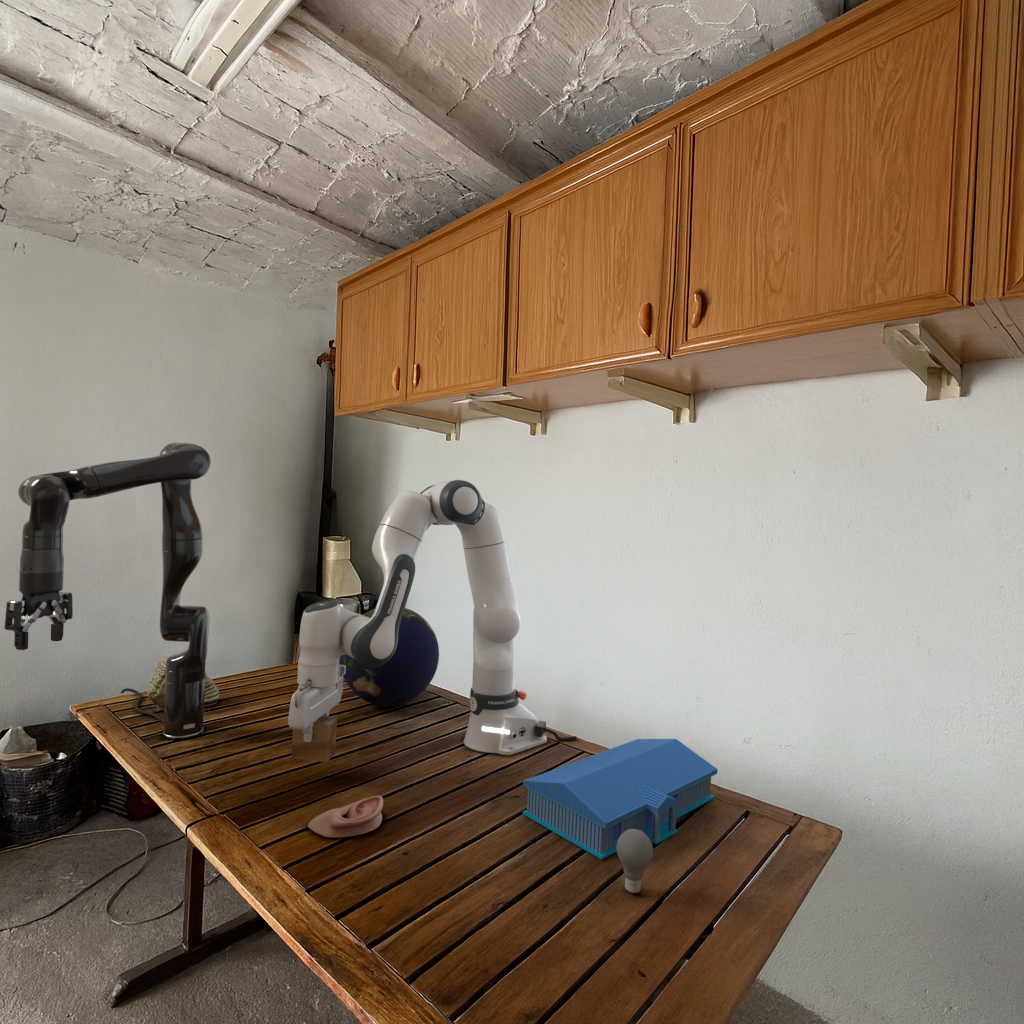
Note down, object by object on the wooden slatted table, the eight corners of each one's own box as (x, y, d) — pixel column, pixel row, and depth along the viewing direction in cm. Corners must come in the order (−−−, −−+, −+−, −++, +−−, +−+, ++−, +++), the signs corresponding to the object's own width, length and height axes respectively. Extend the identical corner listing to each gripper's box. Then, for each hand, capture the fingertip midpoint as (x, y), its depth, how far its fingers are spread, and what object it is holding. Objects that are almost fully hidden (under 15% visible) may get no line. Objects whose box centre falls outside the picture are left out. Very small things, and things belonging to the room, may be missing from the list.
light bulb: (610, 879, 108) (613, 822, 108) (644, 879, 109) (647, 822, 109) (619, 902, 102) (622, 840, 102) (655, 901, 103) (658, 840, 103)
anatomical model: (300, 812, 119) (329, 785, 130) (299, 833, 119) (328, 804, 130) (365, 822, 116) (390, 794, 127) (365, 843, 116) (389, 814, 127)
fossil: (144, 707, 182) (145, 655, 182) (212, 696, 194) (213, 647, 194) (151, 716, 175) (153, 662, 175) (221, 703, 188) (223, 653, 188)
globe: (316, 709, 186) (320, 608, 186) (375, 684, 214) (378, 595, 214) (403, 727, 175) (408, 619, 175) (453, 698, 203) (457, 604, 202)
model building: (615, 867, 112) (618, 811, 112) (520, 812, 130) (523, 764, 130) (727, 803, 138) (730, 758, 138) (636, 765, 157) (638, 725, 156)
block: (326, 762, 140) (328, 725, 139) (291, 758, 141) (293, 721, 141) (335, 754, 144) (337, 717, 144) (301, 750, 146) (303, 714, 145)
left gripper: (28, 574, 127) (25, 654, 128) (84, 567, 141) (82, 639, 142) (-5, 571, 128) (-8, 651, 129) (54, 565, 142) (52, 636, 143)
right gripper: (310, 689, 132) (307, 755, 132) (348, 664, 152) (345, 721, 152) (282, 686, 132) (278, 751, 133) (323, 662, 153) (320, 719, 153)
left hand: (39, 645), depth 135 cm, fingers open, 8 cm apart
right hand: (314, 735), depth 143 cm, fingers closed on block, 5 cm apart
